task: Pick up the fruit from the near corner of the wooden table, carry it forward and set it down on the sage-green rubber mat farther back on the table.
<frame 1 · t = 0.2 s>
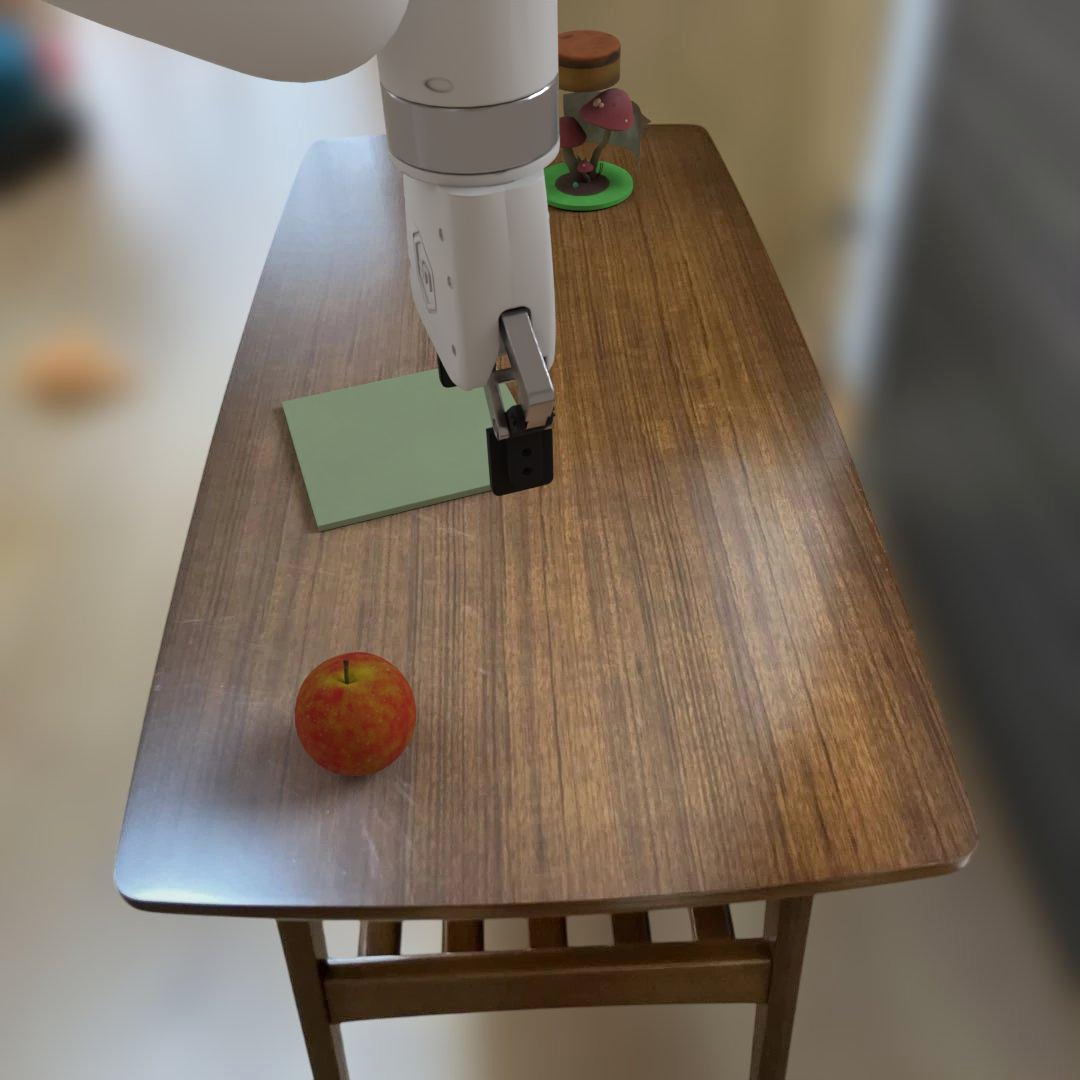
hand: (493, 430, 60), 18 cm above the table, tool pointing down, fingers open, 9 cm apart
mat: (412, 440, 89), on the table
fruit: (364, 752, 67), on the table
mushroom figurine: (587, 190, 119), on the table
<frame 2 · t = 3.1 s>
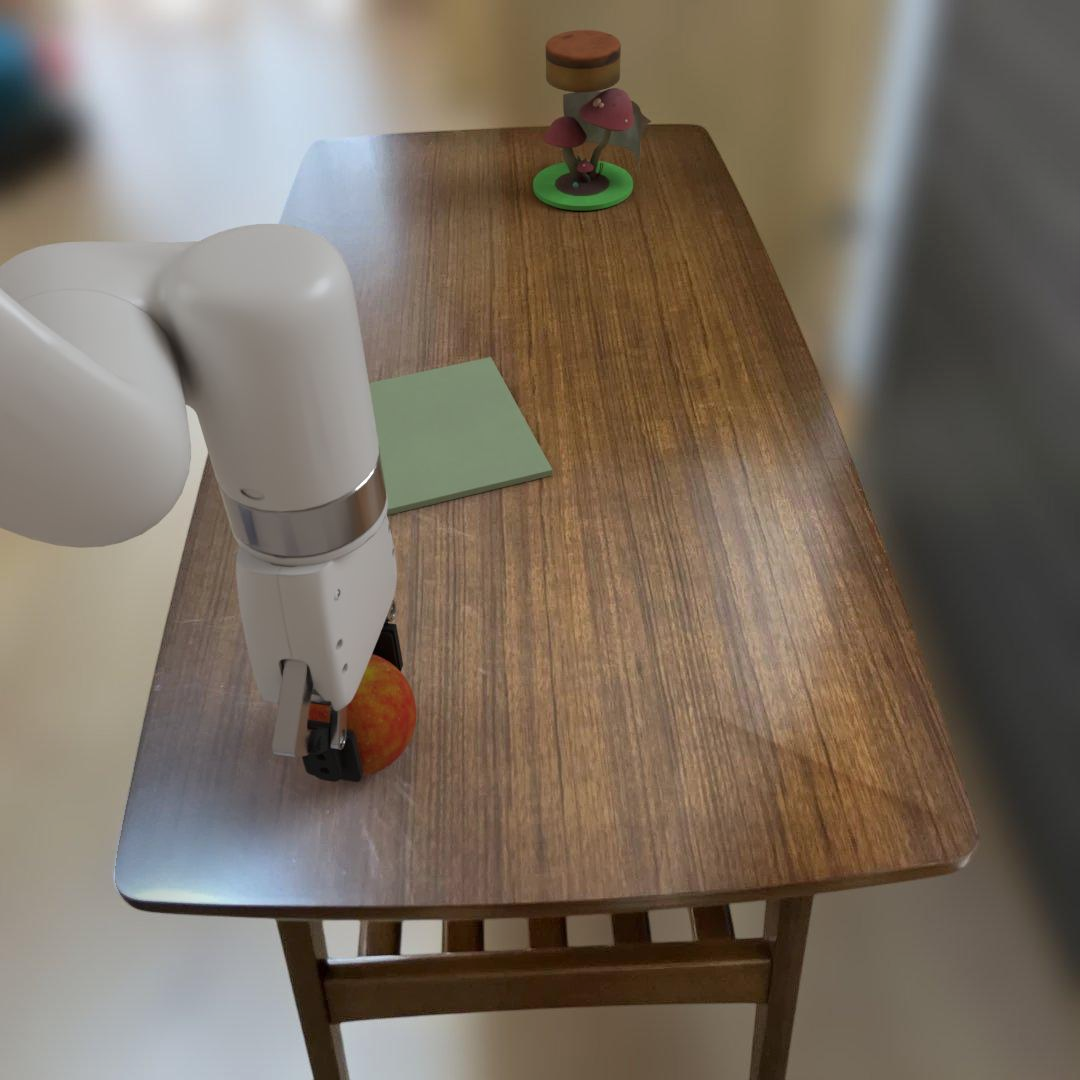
hand: (357, 717, 65), 3 cm above the table, tool pointing down, fingers closed on fruit, 7 cm apart
fruit: (364, 752, 67), on the table, touching gripper
everything else where it was.
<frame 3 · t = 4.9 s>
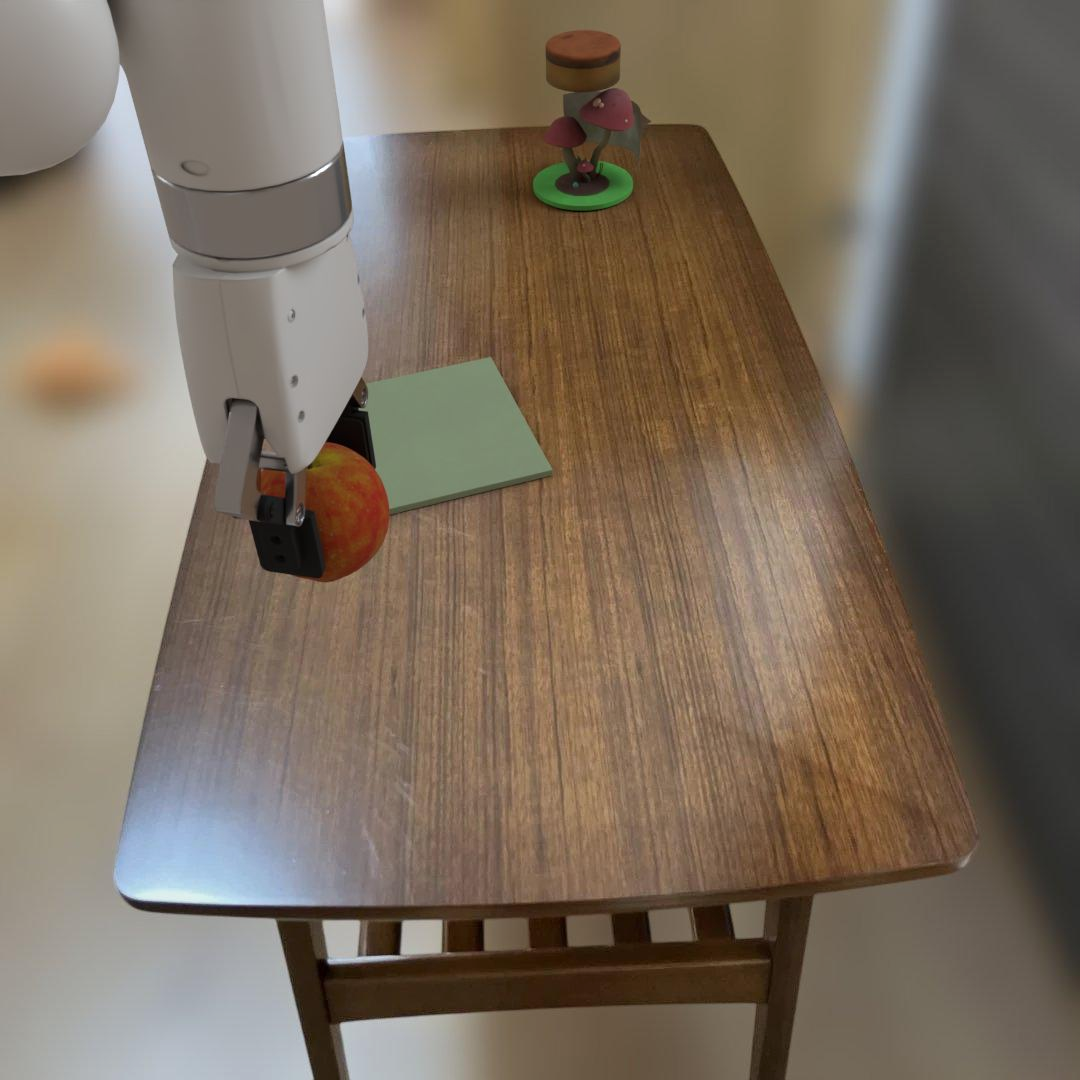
hand: (321, 516, 57), 17 cm above the table, tool pointing down, fingers closed on fruit, 7 cm apart
fruit: (331, 564, 60), point 13 cm above the table, touching gripper
everything else where it was.
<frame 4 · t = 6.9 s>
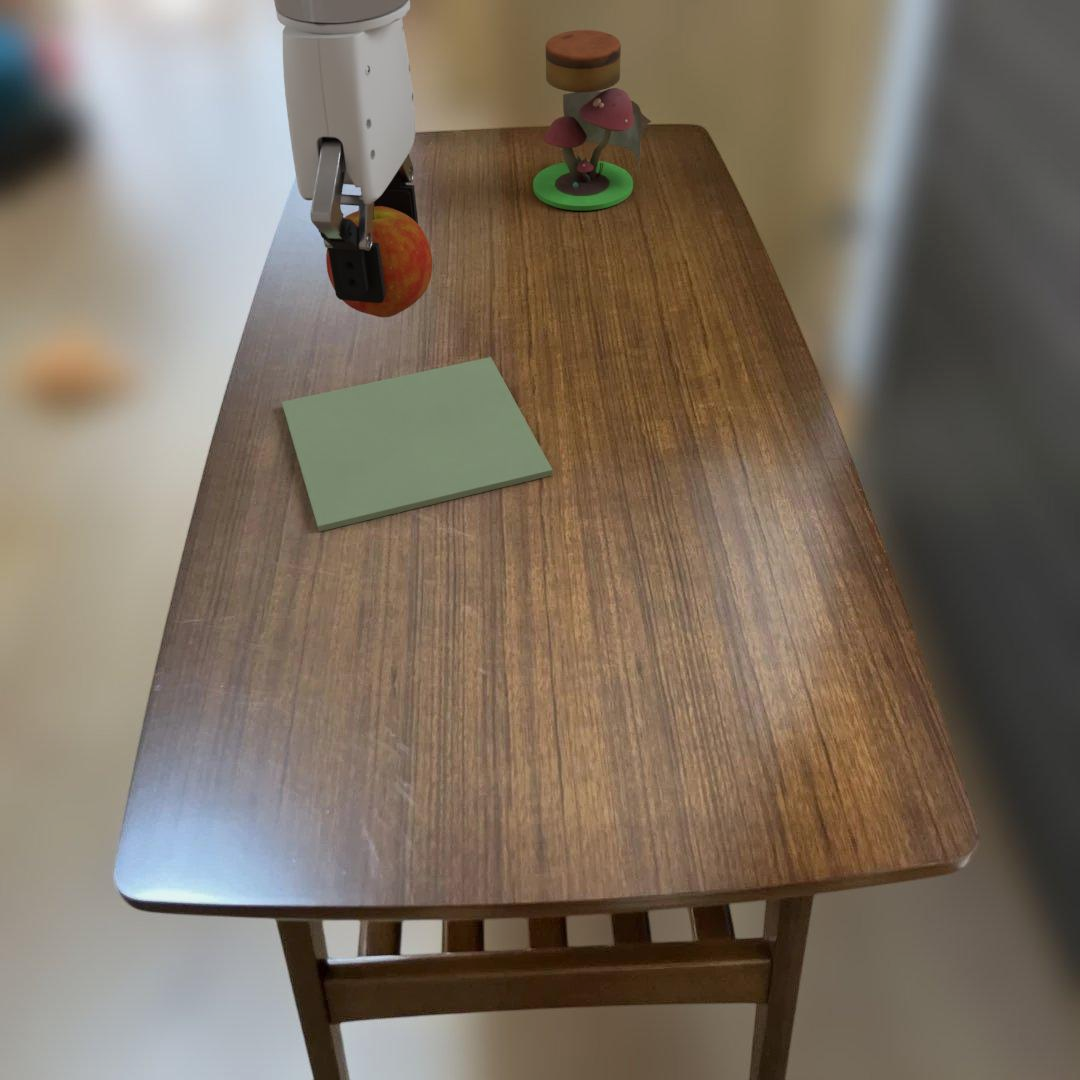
hand: (379, 266, 74), 17 cm above the table, tool pointing down, fingers closed on fruit, 7 cm apart
fruit: (386, 310, 77), point 14 cm above the table, touching gripper
everything else where it was.
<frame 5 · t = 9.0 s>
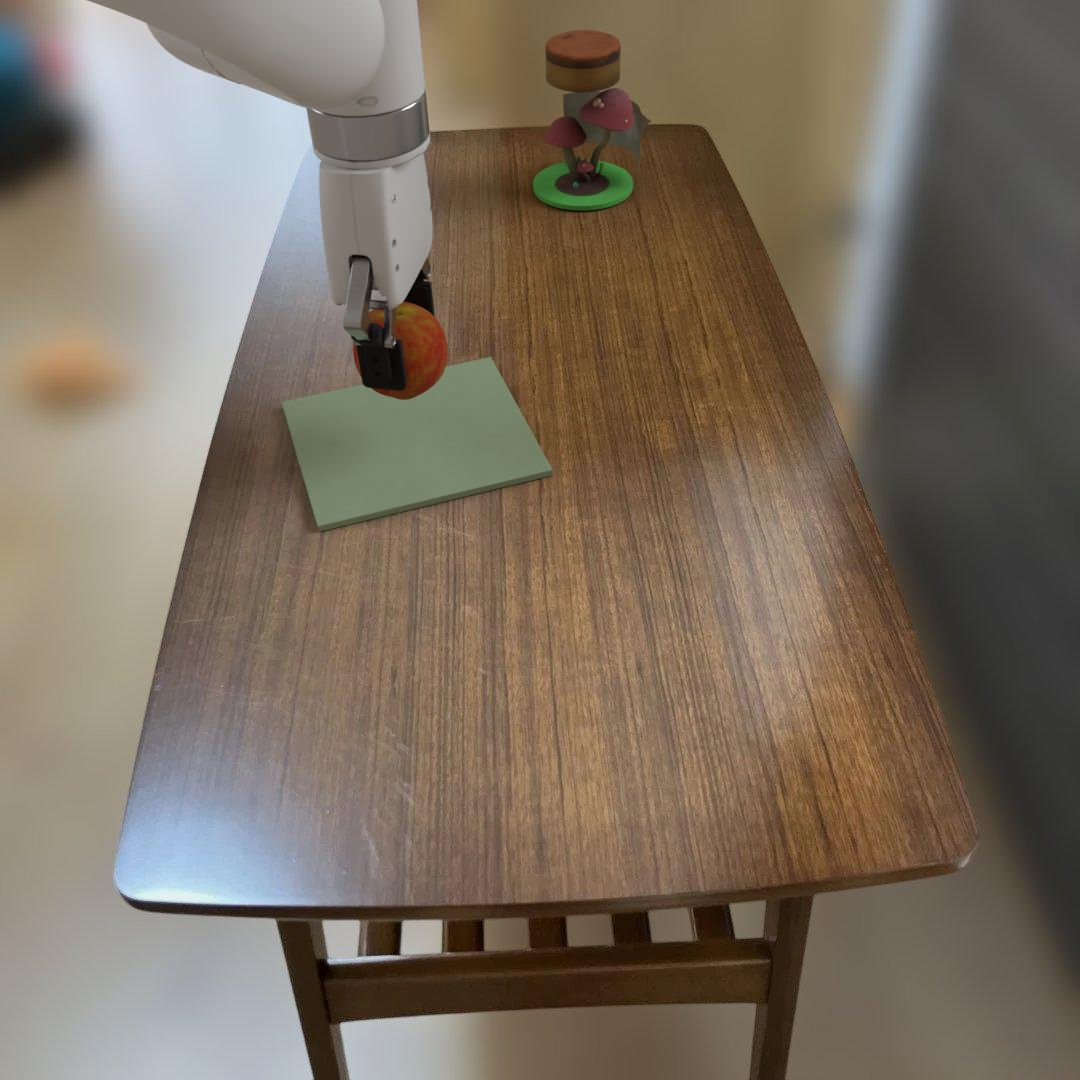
hand: (400, 354, 83), 8 cm above the table, tool pointing down, fingers closed on fruit, 7 cm apart
fruit: (406, 391, 85), point 5 cm above the table, touching gripper
everything else where it was.
when the fingers open (4 cm above the table, at t = 10.7 s): fruit stays where it is, resting on mat.
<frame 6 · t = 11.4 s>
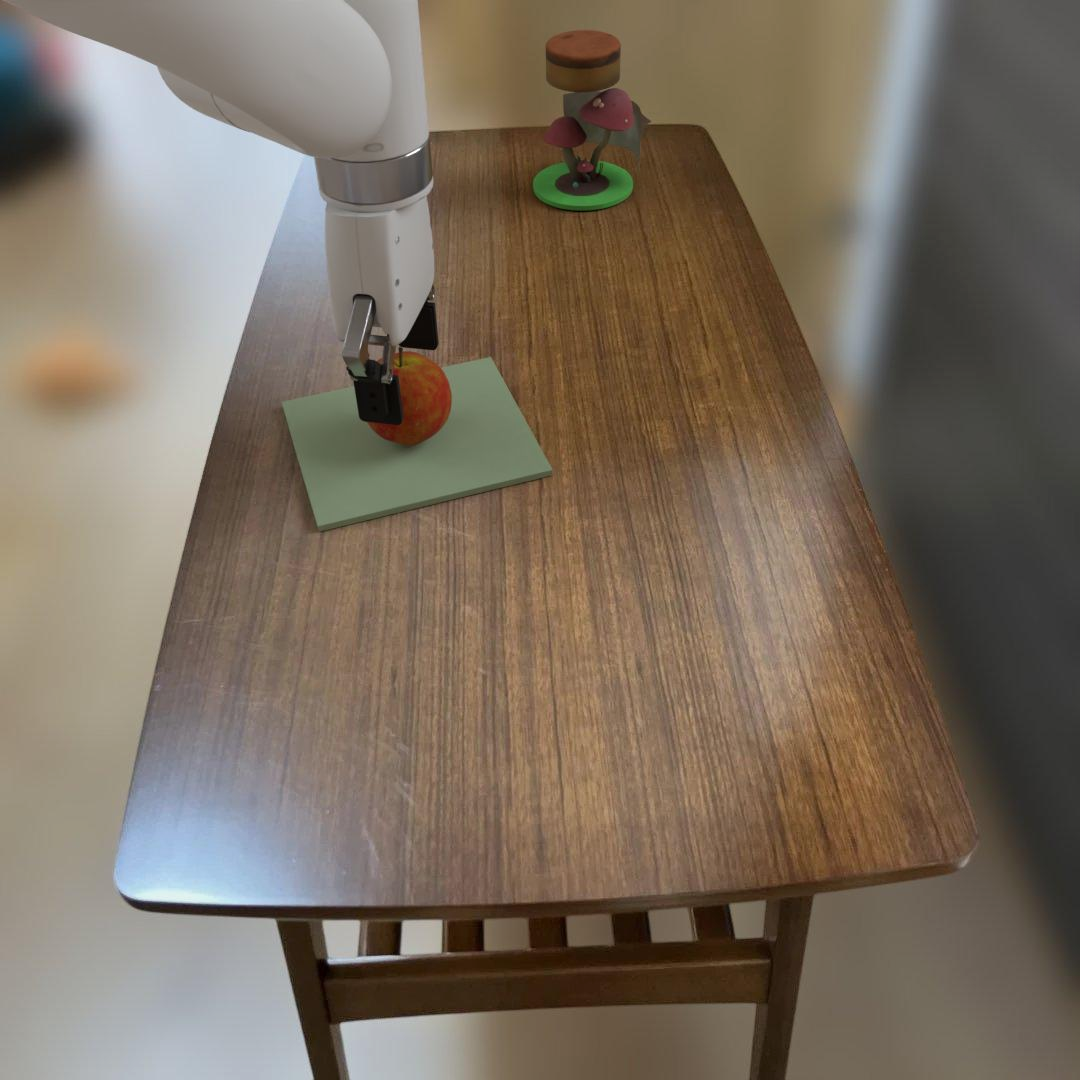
hand: (400, 382, 84), 6 cm above the table, tool pointing down, fingers open, 9 cm apart
fruit: (411, 436, 88), resting on mat
everything else where it was.
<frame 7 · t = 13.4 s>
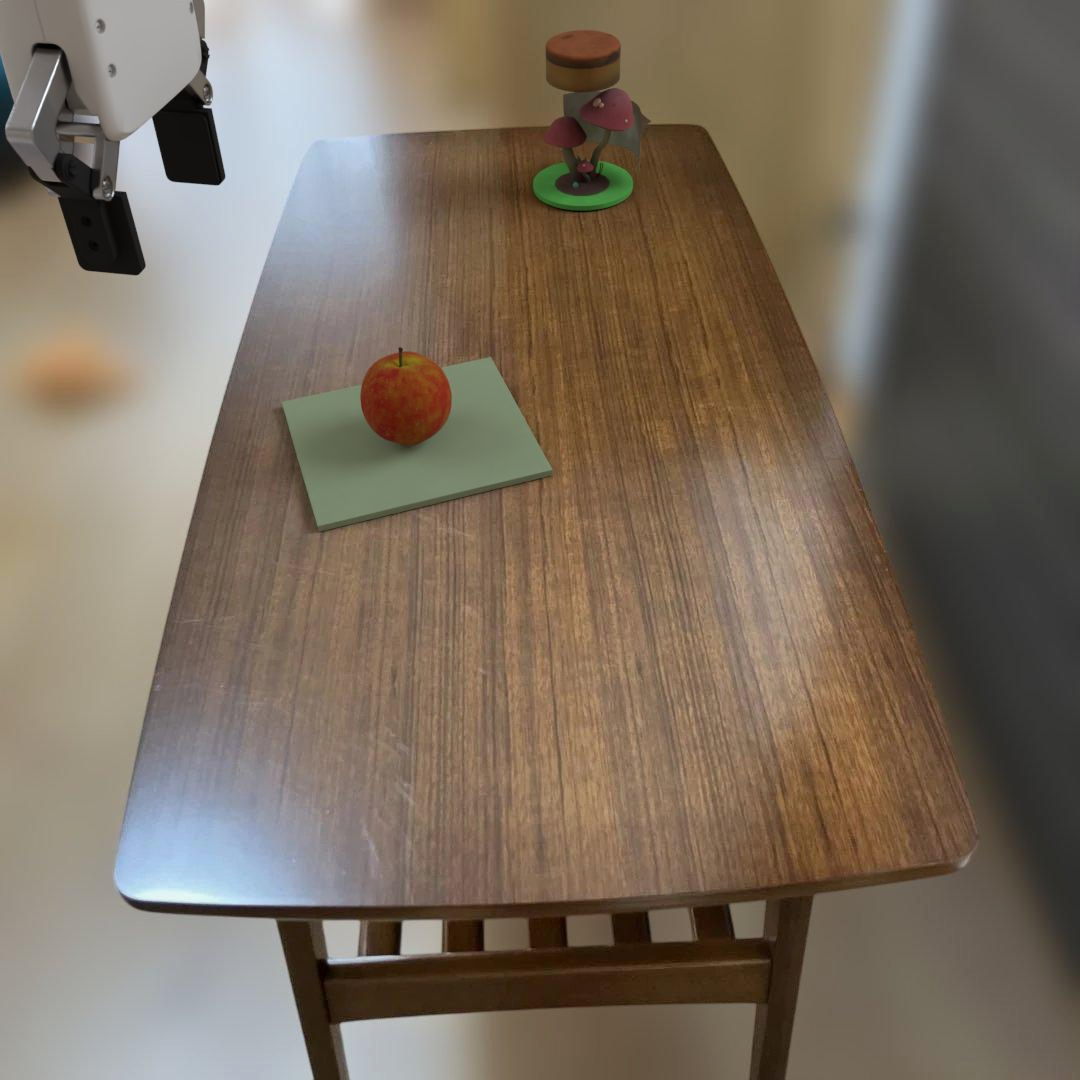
hand: (158, 223, 57), 28 cm above the table, tool pointing down, fingers open, 9 cm apart
nothing on the table moved.
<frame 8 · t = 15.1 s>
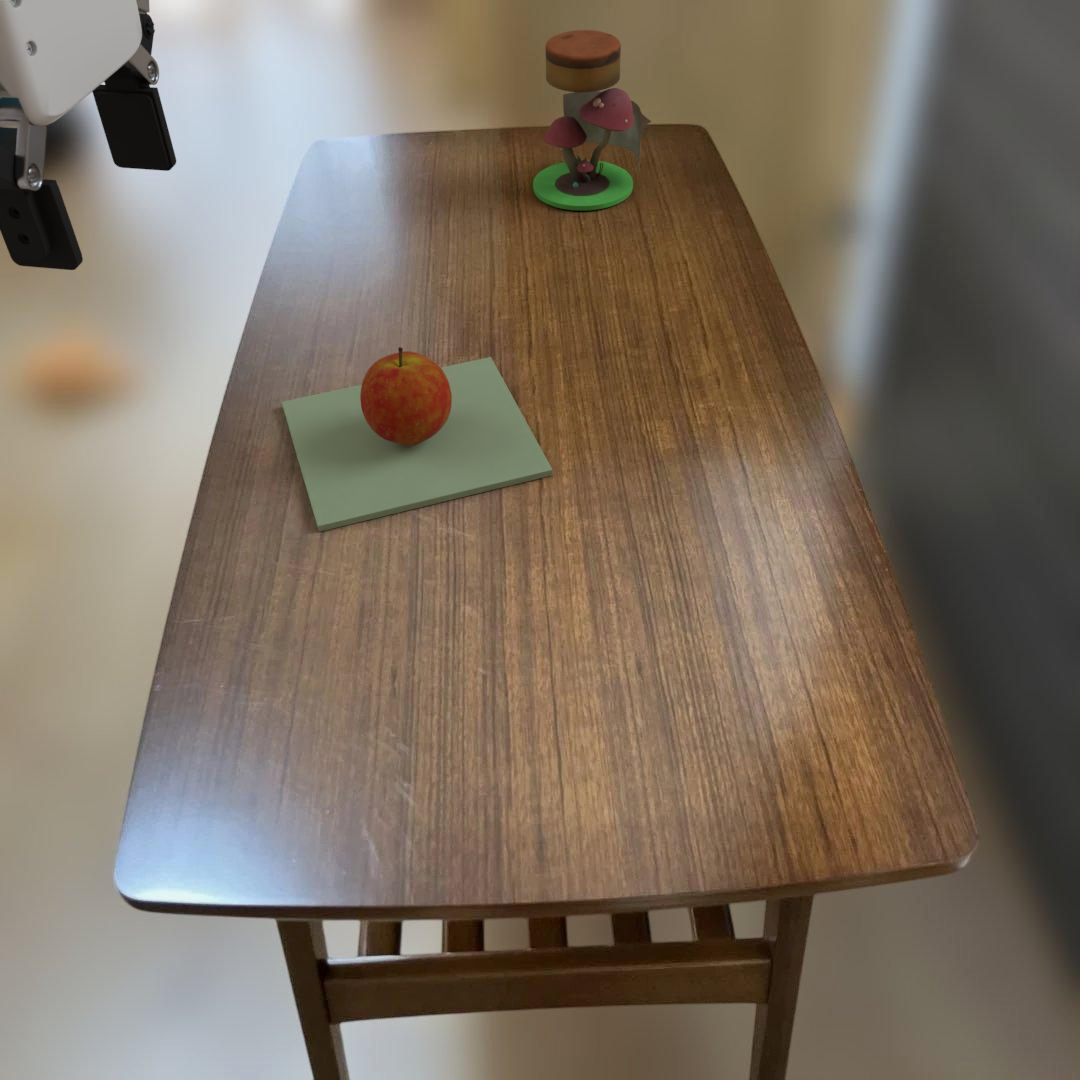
hand: (101, 212, 53), 30 cm above the table, tool pointing down, fingers open, 9 cm apart
nothing on the table moved.
at the end: fruit inside the target area on the mat (0.1 cm from its centre), point 0.4 cm above the mat's base; fruit moved 29.6 cm from its start; the gripper is holding nothing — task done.
